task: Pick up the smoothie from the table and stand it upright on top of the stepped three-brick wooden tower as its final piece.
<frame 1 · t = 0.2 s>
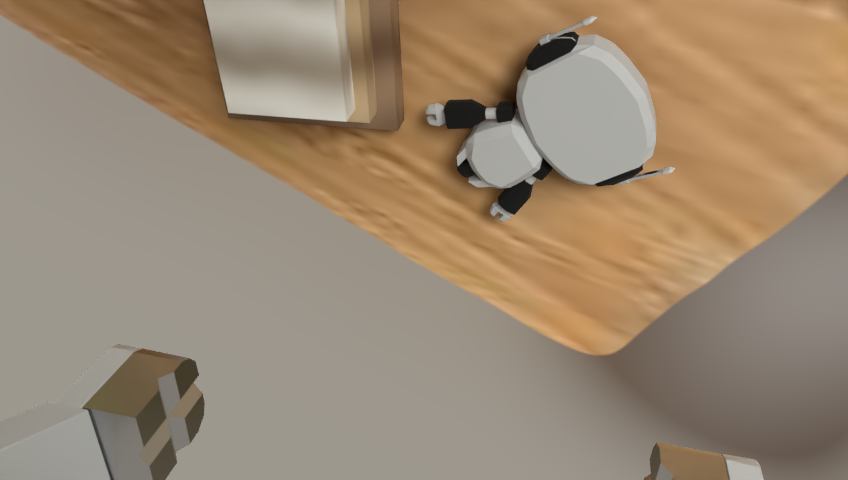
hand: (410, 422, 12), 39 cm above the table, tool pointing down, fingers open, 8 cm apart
robot toy: (547, 115, 50), on the table
brick tower: (308, 26, 49), on the table
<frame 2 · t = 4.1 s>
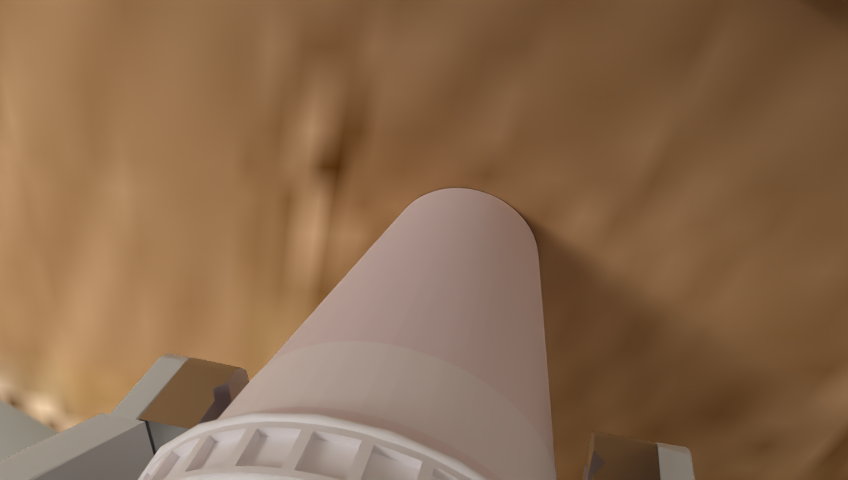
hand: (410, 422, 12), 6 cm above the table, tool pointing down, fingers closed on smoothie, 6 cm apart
smoothie: (464, 251, 17), on the table, touching gripper
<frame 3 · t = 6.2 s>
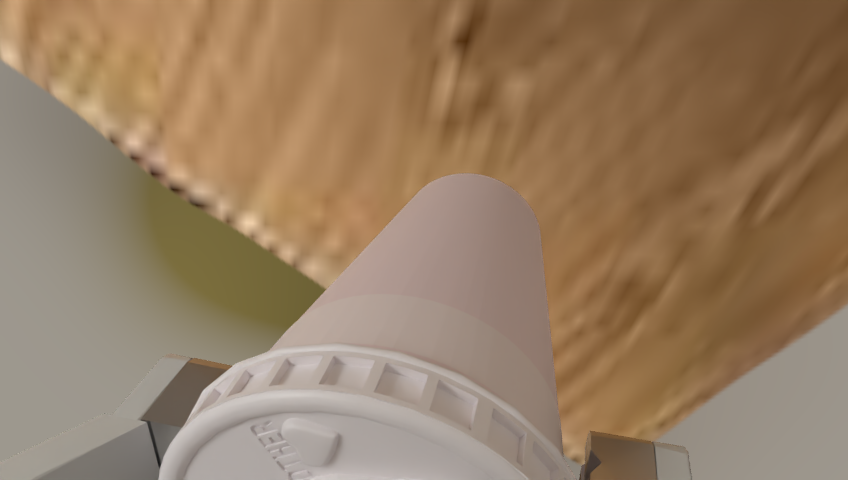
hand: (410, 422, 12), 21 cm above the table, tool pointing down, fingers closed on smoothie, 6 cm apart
smoothie: (471, 234, 18), point 13 cm above the table, touching gripper
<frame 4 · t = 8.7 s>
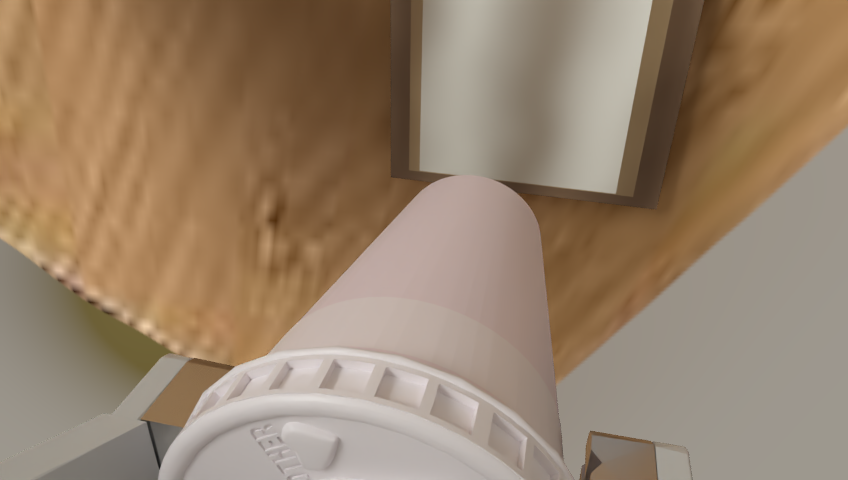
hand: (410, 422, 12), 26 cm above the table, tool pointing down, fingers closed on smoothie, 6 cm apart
smoothie: (471, 235, 18), point 19 cm above the table, touching gripper
brick tower: (536, 49, 33), on the table
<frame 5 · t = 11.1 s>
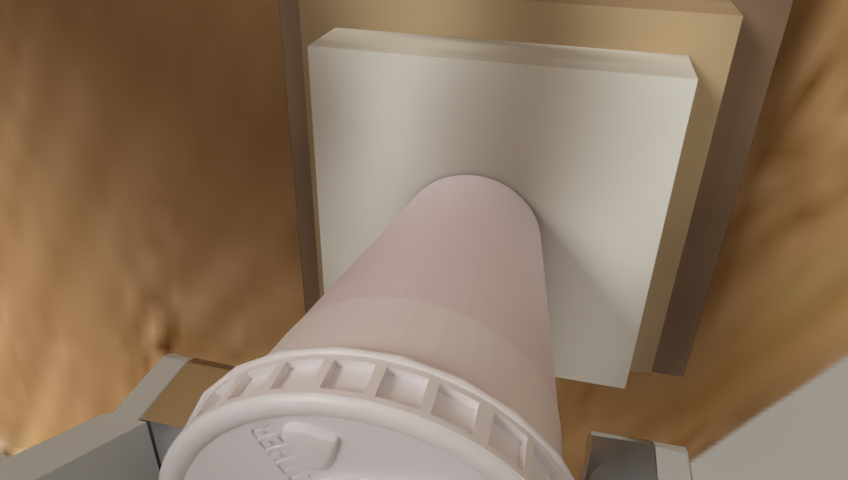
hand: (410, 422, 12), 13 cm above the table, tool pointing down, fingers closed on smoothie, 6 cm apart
smoothie: (471, 235, 18), point 6 cm above the table, touching gripper
brick tower: (507, 146, 23), on the table
when the fingers open (13 cm above the table, at t = 11.8 s): smoothie moves 1 cm, resting on brick tower.
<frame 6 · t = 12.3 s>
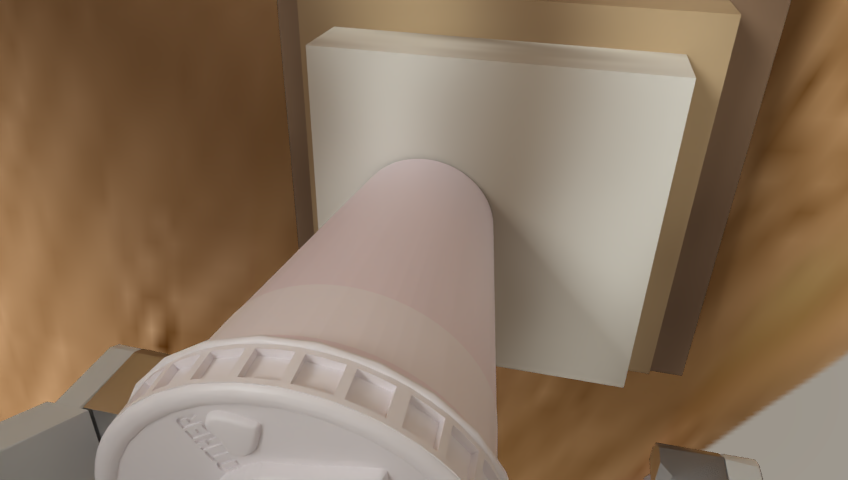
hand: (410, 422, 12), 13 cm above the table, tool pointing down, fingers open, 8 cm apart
smoothie: (425, 218, 18), point 6 cm above the table, touching brick tower, gripper
brick tower: (506, 145, 23), on the table
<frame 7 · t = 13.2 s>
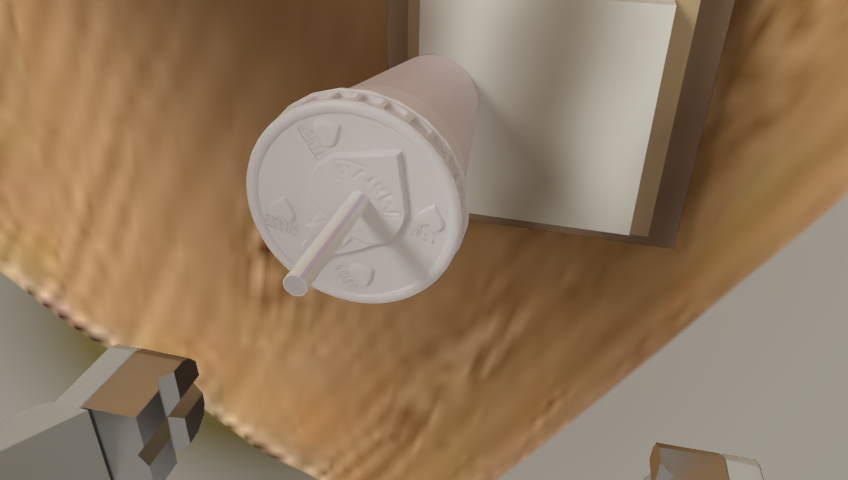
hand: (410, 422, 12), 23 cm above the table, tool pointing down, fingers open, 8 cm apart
smoothie: (433, 99, 27), point 6 cm above the table, touching brick tower
brick tower: (544, 75, 31), on the table
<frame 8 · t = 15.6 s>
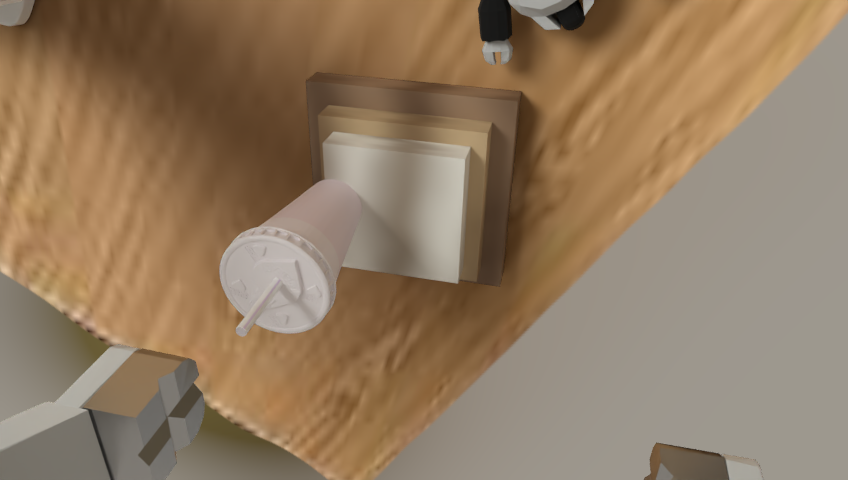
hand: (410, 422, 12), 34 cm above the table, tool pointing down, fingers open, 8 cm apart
smoothie: (335, 203, 44), point 6 cm above the table, touching brick tower
brick tower: (414, 176, 48), on the table
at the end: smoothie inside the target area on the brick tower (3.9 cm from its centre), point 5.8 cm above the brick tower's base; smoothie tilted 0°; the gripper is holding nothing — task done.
